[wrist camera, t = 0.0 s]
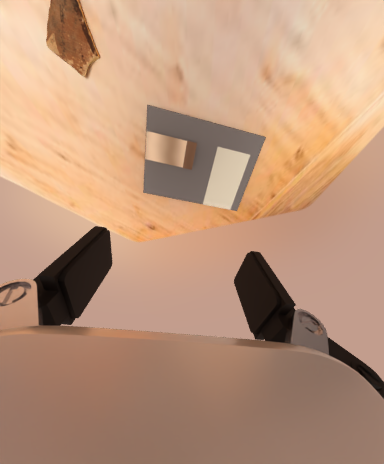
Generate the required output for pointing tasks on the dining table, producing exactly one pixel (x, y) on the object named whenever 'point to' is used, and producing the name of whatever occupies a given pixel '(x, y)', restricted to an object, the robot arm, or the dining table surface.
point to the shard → (70, 35)
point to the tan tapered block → (170, 150)
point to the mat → (202, 161)
